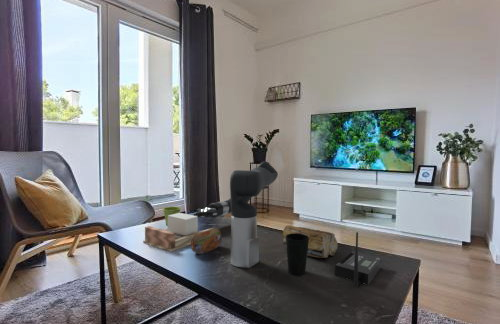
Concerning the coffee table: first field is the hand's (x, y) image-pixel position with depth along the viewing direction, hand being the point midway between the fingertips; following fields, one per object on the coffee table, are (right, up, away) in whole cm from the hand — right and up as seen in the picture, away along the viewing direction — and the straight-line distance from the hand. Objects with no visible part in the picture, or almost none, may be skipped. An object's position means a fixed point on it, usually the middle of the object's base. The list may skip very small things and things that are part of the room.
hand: (194, 215), depth 133 cm
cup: (+42, -12, -39) cm, 58 cm away
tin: (+9, -10, -20) cm, 24 cm away
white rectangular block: (-4, -6, -6) cm, 9 cm away
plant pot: (-16, -8, +17) cm, 24 cm away
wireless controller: (+62, -12, -39) cm, 74 cm away
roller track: (-6, -9, -9) cm, 14 cm away
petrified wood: (+50, -11, -20) cm, 55 cm away
